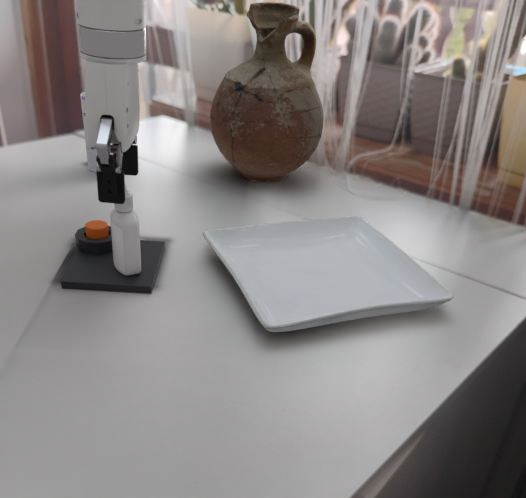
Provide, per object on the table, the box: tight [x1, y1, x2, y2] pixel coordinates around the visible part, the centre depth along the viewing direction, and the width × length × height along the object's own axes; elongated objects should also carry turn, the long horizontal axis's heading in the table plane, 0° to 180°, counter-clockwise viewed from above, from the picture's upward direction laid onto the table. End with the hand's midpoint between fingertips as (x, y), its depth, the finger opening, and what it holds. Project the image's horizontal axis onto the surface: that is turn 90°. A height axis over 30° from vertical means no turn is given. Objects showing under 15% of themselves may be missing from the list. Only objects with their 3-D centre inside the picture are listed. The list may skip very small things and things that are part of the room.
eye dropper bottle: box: [109, 184, 141, 275], centre depth 84 cm, size 4×6×12 cm
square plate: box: [202, 215, 455, 333], centre depth 89 cm, size 27×27×4 cm
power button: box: [84, 219, 109, 239], centre depth 91 cm, size 3×3×2 cm
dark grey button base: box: [60, 225, 166, 295], centre depth 89 cm, size 12×14×3 cm
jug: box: [209, 1, 325, 183], centre depth 117 cm, size 22×22×30 cm
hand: (119, 187), depth 81 cm, fingers open, 9 cm apart
